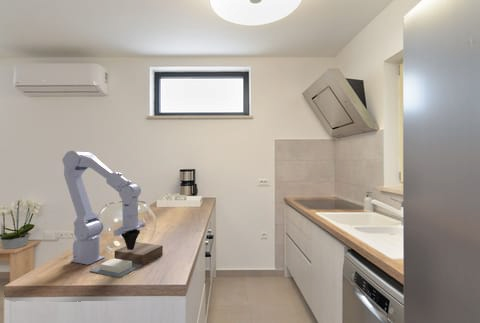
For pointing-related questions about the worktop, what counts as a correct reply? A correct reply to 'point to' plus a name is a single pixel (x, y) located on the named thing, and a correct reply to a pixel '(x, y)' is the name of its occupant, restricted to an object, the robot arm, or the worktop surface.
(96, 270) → the mat
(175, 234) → the worktop surface
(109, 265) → the light grey flat block
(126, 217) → the robot arm
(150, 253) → the brown flat wooden block
